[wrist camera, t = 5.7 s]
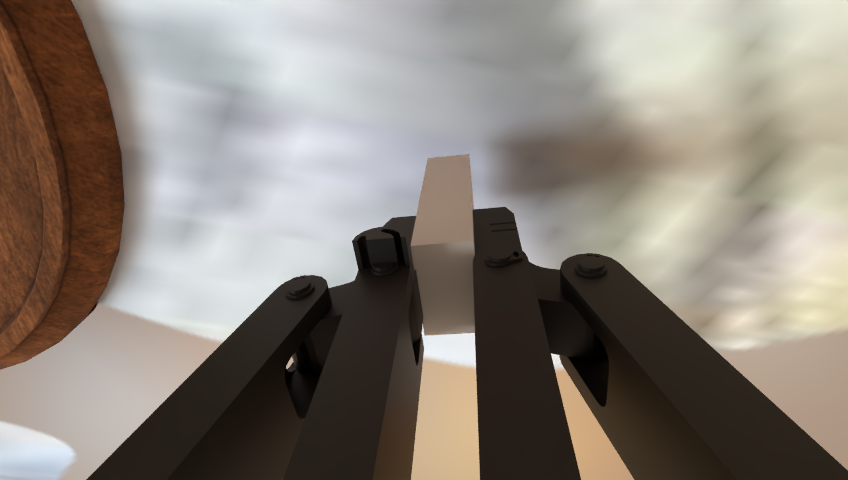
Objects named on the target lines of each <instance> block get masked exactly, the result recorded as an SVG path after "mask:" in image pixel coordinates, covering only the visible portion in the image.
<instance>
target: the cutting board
mask: <svg viewBox="0 0 848 480" xmlns="http://www.w3.org/2000/svg"><path fill="white" fill-rule="evenodd" d="M123 213H124V191H123V175H122V160H121V150H120V146H119V141H118V137H117V133H116V128H115V124H114V119H113V115H112V110H111V106H110V102H109V97H108V93H107V89H106V86H105V84H104V81H103V78H102V76H101V73H100V70H99V68H98V65H97V62H96V60H95V57H94V54H93V51H92V49H91V46H90V43H89V41H88V38H87V35H86V33H85V30H84V27H83V25H82V22H81V19H80V17H79V15H78V14H77V12H76V10H75V8H74V6H73V4H72V2H71V0H0V369H3V368H7V367H10V366H13V365H16V364H19V363H22V362H25V361H27V360H29V359H30V358H32V357H34V356H36V355H38V354H39V353H41V352H43V351H45V350H46V349H48V348H50V347H52V346H53V345H55V344H57V343H59V342H60V341H61V340H62V339H63V338H65V337H66V336H67V335H68V334H69V333H70V332H71V331H72V330H73V329H74V328H76V327H77V326H78V325H79V324H80V323H81V322H82V321H83V320H84V319H85V318H86V317H87V316H88V315H89V314H90V313H92V312H93V311H94V309H95V308H96V306H97V305H98V303H99V302H97V300H98V299H99V297H100V296H101V294H102V293H103V291H104V290H105V288H106V286H107V283H108V281H109V278H110V275H111V272H112V269H113V266H114V263H115V260H116V257H117V255H118V252H119V247H120V238H121V230H122V222H123Z"/></svg>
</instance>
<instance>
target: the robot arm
mask: <svg viewBox="0 0 848 480" xmlns="http://www.w3.org/2000/svg"><path fill="white" fill-rule="evenodd" d="M352 243H353V247H354V252H355V256H356V261H357V265H358V269H359V270H358V273H357V276H356V279H355V281H352V282H350V283H347V284H344V285H340V286H336V287H332V288H328V285H327V281H326V280H325V279H324V278H322V277H320V276H315V275H309V276H306V275H304V276H300V277H295V278H293V279H291V280H289V281H287V282H285V283H283V284H282V285H281V286H279V287H278V288H277V289H276V290H275V291H274V292H273V293H272V294H271V295H270V296H269V297H268V298H267V299H266V300H265V301H264V302H263V303H262V304H261V305H260V306H259V307H258V308H257V309H256V310H255V311H254V312H253V313H252V314H251V315H250V316H249V317H248V318H247V319H246V320H245V321H244V322H243V323H242V324H241V325H240V326H239V327H238V328H237V329H236V330H235V331H234V332H233V333H232V334H231V335H230V336H229V337H228V338H227V339H226V340H225V341H224V342H223V343H222V344H221V345H220V346H219V347H218V348H217V349H216V350H215V351H214V352H213V353H212V354H211V355H210V356H209V357H208V358H207V359H206V360H205V361H204V362H203V363H202V364H201V365H200V366H199V367H198V368H197V369H196V370H195V371H194V372H193V373H192V374H191V375H190V376H189V377H188V378H187V379H186V380H185V381H184V382H183V383H182V384H181V385H180V386H179V387H178V388H177V389H176V390H175V391H174V392H173V393H172V394H171V395H170V396H169V397H168V398H167V399H166V400H165V401H164V402H163V403H162V404H161V405H160V406H159V407H158V408H157V409H156V410H155V411H154V412H153V414H151V416H149V418H147V419H146V420H145V421H144V422H143V423H142V424H141V426H139V427H138V429H137V430H135V432H134V433H132V435H130V437H129V438H127V439H126V440H125V441H124V442H123V443H122V444H121V446H119V448H117V450H115V452H114V453H113V454H112V455H111V456H110V457H109V458H108V459H107V460H106V461H105V462H104V463H103V464H102V465H101V466H100V467H99V468H98V469H97V470H96V471H95V472H94V473H93V474H92V475H91V476H90V477H89V478H88V479H87V480H411V472H412V462H413V452H414V442H415V431H416V422H417V411H418V402H419V392H420V382H421V372H422V362H423V352H424V346H423V340H422V334H421V332H422V324H423V327H424V334H425V335H441V334H460V333H475V346H476V375H477V403H478V431H479V460H480V480H581V478H580V473H579V469H578V465H577V461H576V457H575V453H574V448H573V444H572V440H571V436H570V432H569V427H568V423H567V419H566V415H565V411H564V407H563V403H562V398H561V394H560V390H559V386H558V382H557V378H556V373H555V369H554V365H553V361H552V357H551V353H552V354H557V355H560V360H561V363H562V365H563V367H564V368H565V370H566V371H567V373H568V375H569V376H570V377H571V379H572V381H573V383H574V384H575V386H576V387H577V389H578V390H579V392H580V394H581V395H582V397H583V398H584V400H585V402H586V403H587V405H588V406H589V408H590V410H591V411H592V413H593V414H594V416H595V417H596V419H597V420H598V422H599V424H600V425H601V427H602V429H603V430H604V432H605V433H606V435H607V437H608V438H609V440H610V441H611V443H612V445H613V446H614V447H615V449H616V451H617V452H618V454H619V455H620V457H621V459H622V460H623V462H624V463H625V465H626V467H627V468H628V470H629V471H630V473H631V475H632V476H633V478H634V479H635V480H848V471H847V470H846V469H845V468H844V467H843V466H842V465H841V464H840V463H839V462H838V461H837V460H835V459H834V458H833V457H832V456H831V455H830V454H829V453H828V452H827V451H826V450H824V449H823V448H822V447H821V446H820V445H819V444H818V443H817V442H816V441H815V440H813V439H812V438H811V437H810V436H809V435H808V434H807V433H806V432H805V431H804V430H802V429H801V428H800V427H799V426H798V425H797V424H796V423H795V422H794V421H793V420H791V419H790V418H789V417H788V416H787V415H786V414H785V413H784V412H783V411H782V410H780V409H779V408H778V407H777V406H776V405H775V404H774V403H773V402H772V401H771V400H769V399H768V398H767V397H766V396H765V395H764V394H763V393H762V392H761V391H760V390H758V389H757V388H756V387H755V386H754V385H753V384H752V383H751V382H750V381H748V380H747V379H746V378H745V377H744V376H743V375H742V374H741V373H740V372H739V371H737V370H736V369H735V368H734V367H733V366H732V365H731V364H730V363H729V362H728V361H726V360H725V359H724V358H723V357H722V356H721V355H720V354H719V353H718V352H717V351H716V350H714V349H713V348H712V347H711V346H710V345H709V344H708V343H707V342H706V341H705V340H703V339H702V338H701V337H700V336H699V335H698V334H697V333H696V332H695V331H694V330H692V329H691V328H690V327H689V326H688V325H687V324H686V323H685V322H684V321H683V320H681V319H680V318H679V317H678V316H677V315H676V314H675V313H674V312H673V311H672V310H670V309H669V308H668V307H667V306H666V305H665V304H664V303H663V302H662V301H660V300H659V299H658V298H657V297H656V296H655V295H654V294H653V293H652V292H651V291H649V290H648V289H647V288H646V287H645V286H644V285H643V284H642V283H641V282H640V281H638V280H637V279H636V278H635V277H634V276H633V275H632V274H631V273H630V272H629V271H627V270H626V269H625V268H624V267H623V266H622V265H621V264H620V263H619V262H617V261H615V260H614V259H612V258H610V257H607V256H603V255H600V254H593V253H586V254H579V255H575V256H572V257H569V258H567V259H566V260H565V261H563V262H562V265H561V268H560V270H556V269H548V268H543V267H539V266H536V265H534V264H532V263H530V262H529V261H528V257H527V256H526V254H525V253H524V252H523V251H522V247H521V243H520V239H519V234H518V230H517V226H516V222H515V217H514V213H512V212H511V211H510V210H508V209H507V208H506V207H499V208H487V209H476V210H474V204H473V193H472V181H471V169H470V157H469V154H466V155H456V156H446V157H436V158H428V160H427V165H426V170H425V175H424V180H423V185H422V190H421V195H420V200H419V205H418V210H417V215H416V216H408V217H397V218H392V219H391V220H389V221H388V222H387V223H386V224H385V225H384V226H383V227H378V228H373V229H370V230H367V231H364V232H362V233H361V234H359V235H357V236H356V237H355V238H354V239H353V241H352ZM291 357H292V358H293V361H294V362H293V363H292V365H291V366H290V367H289V368H288V369H286V365H287V363H288V361H289V360H290V358H291Z"/></svg>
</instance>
